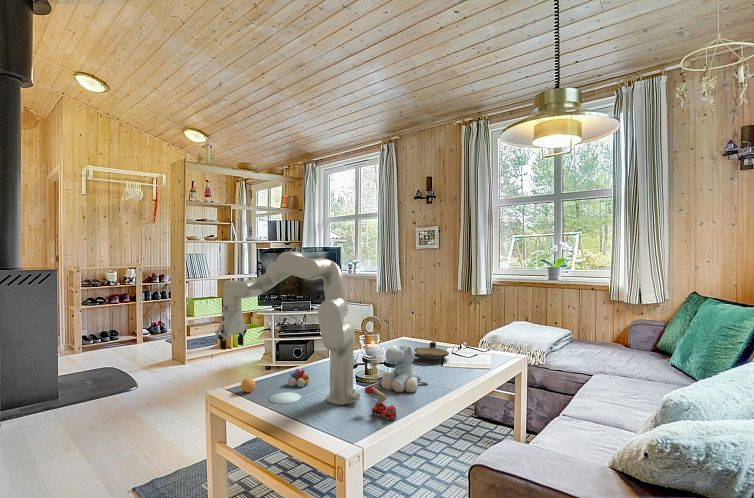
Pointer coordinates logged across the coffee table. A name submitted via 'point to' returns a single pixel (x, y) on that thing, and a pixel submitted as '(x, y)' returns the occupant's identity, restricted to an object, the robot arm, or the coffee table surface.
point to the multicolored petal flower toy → (298, 378)
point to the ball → (248, 385)
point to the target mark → (285, 398)
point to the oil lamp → (430, 352)
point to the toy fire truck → (381, 405)
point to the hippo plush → (401, 370)
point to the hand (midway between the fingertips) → (232, 347)
